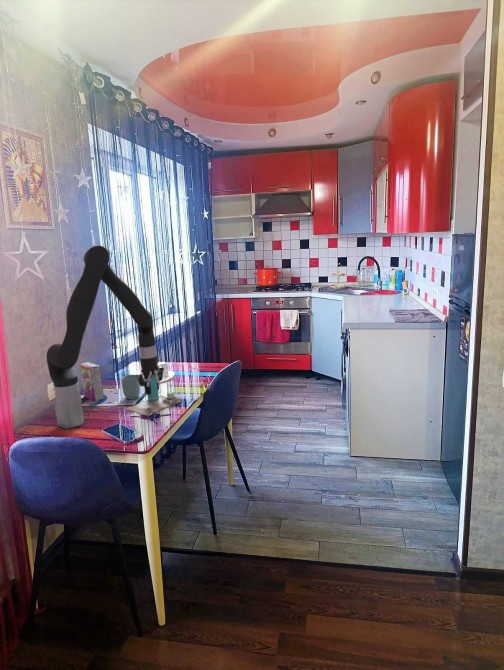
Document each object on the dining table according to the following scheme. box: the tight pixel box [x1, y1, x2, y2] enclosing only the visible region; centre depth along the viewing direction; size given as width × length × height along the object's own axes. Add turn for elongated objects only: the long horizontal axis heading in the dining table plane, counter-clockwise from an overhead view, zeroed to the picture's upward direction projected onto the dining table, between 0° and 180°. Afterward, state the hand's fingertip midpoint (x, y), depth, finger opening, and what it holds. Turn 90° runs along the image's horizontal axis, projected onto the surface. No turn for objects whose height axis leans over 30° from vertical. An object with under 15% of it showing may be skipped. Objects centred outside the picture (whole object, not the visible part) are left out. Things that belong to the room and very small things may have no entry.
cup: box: [120, 374, 141, 400], centre depth 217 cm, size 8×8×10 cm
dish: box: [132, 360, 176, 385], centre depth 245 cm, size 25×25×11 cm
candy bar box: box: [78, 361, 105, 402], centre depth 219 cm, size 11×5×16 cm, turn 47°
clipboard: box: [126, 394, 182, 417], centre depth 205 cm, size 19×14×2 cm
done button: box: [166, 391, 176, 400], centre depth 207 cm, size 3×3×2 cm
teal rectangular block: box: [146, 374, 159, 402], centre depth 209 cm, size 4×4×12 cm
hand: (152, 392), depth 209 cm, fingers open, 4 cm apart
